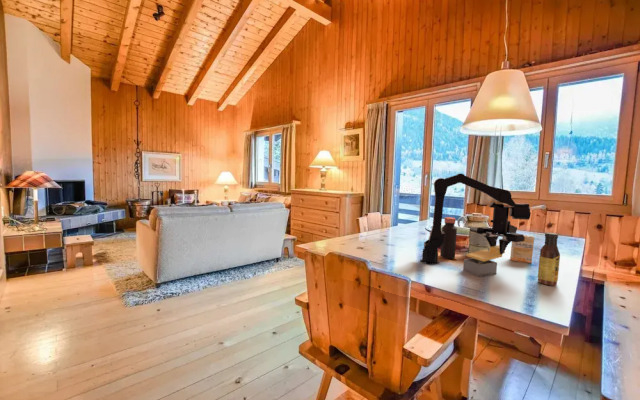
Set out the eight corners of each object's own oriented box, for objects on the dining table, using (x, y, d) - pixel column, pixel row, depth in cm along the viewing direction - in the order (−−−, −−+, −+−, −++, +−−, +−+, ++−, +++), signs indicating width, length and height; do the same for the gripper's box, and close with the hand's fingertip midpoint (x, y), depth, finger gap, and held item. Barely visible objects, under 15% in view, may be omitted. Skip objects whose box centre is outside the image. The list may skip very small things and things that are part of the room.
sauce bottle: (558, 287, 112) (563, 236, 110) (537, 284, 115) (542, 233, 113) (555, 282, 118) (561, 233, 116) (536, 279, 121) (541, 231, 119)
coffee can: (464, 252, 159) (466, 226, 158) (484, 253, 158) (486, 227, 157) (472, 258, 149) (474, 230, 147) (494, 259, 148) (496, 231, 146)
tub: (478, 276, 122) (479, 264, 122) (463, 270, 130) (463, 259, 129) (496, 274, 126) (497, 262, 125) (479, 268, 133) (480, 257, 133)
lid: (483, 261, 122) (483, 255, 121) (466, 256, 130) (466, 249, 129) (510, 254, 127) (510, 248, 127) (492, 249, 135) (492, 243, 135)
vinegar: (437, 255, 152) (439, 217, 150) (448, 255, 154) (451, 216, 152) (446, 259, 145) (448, 219, 143) (457, 258, 147) (460, 219, 145)
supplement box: (512, 261, 145) (514, 234, 144) (510, 258, 150) (512, 233, 149) (532, 263, 142) (534, 236, 141) (529, 260, 147) (531, 234, 145)
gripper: (535, 220, 123) (531, 257, 125) (494, 214, 141) (491, 246, 142) (516, 222, 119) (513, 259, 121) (476, 215, 137) (474, 248, 138)
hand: (497, 253), depth 131 cm, fingers closed on lid, 3 cm apart
